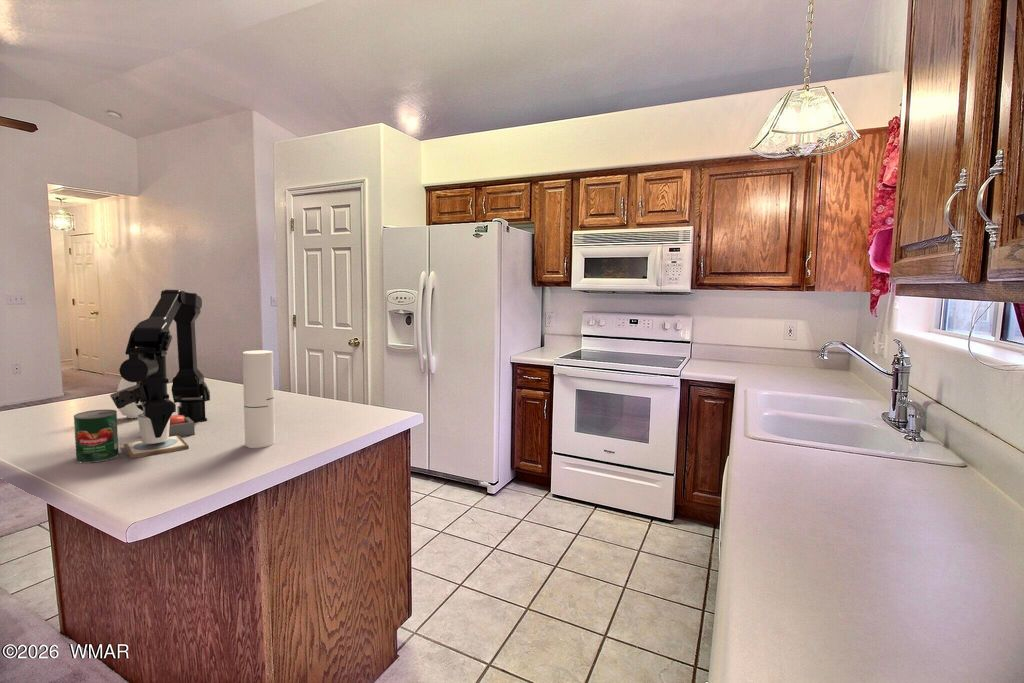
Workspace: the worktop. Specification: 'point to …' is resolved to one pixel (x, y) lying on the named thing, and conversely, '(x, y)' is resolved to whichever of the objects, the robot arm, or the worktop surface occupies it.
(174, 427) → the button housing
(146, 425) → the white cup
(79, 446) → the canned tomato
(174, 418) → the button
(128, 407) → the sauce bottle
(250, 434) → the cylindrical container
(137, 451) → the wooden picture frame
